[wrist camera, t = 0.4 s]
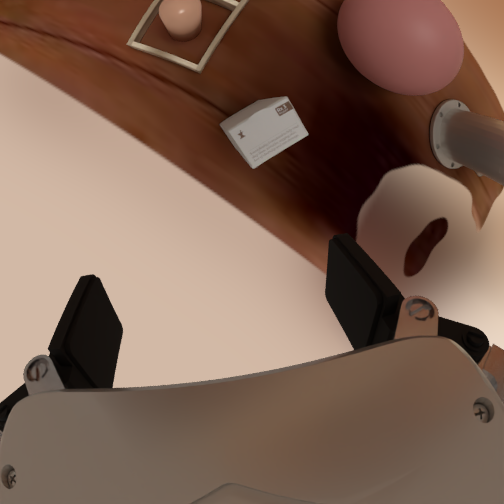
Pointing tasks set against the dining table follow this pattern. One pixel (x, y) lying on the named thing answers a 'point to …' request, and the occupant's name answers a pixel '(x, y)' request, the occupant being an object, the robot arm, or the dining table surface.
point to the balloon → (402, 43)
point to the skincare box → (264, 129)
